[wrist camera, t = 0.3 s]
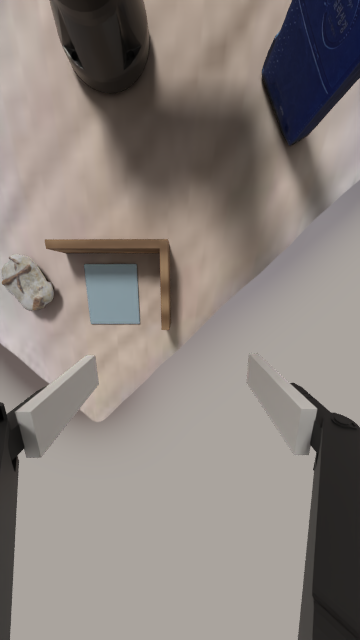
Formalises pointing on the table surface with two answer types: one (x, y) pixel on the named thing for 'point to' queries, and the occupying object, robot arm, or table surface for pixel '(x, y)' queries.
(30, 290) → the stone
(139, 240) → the corner walls
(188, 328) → the table surface
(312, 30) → the book
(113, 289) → the mat
